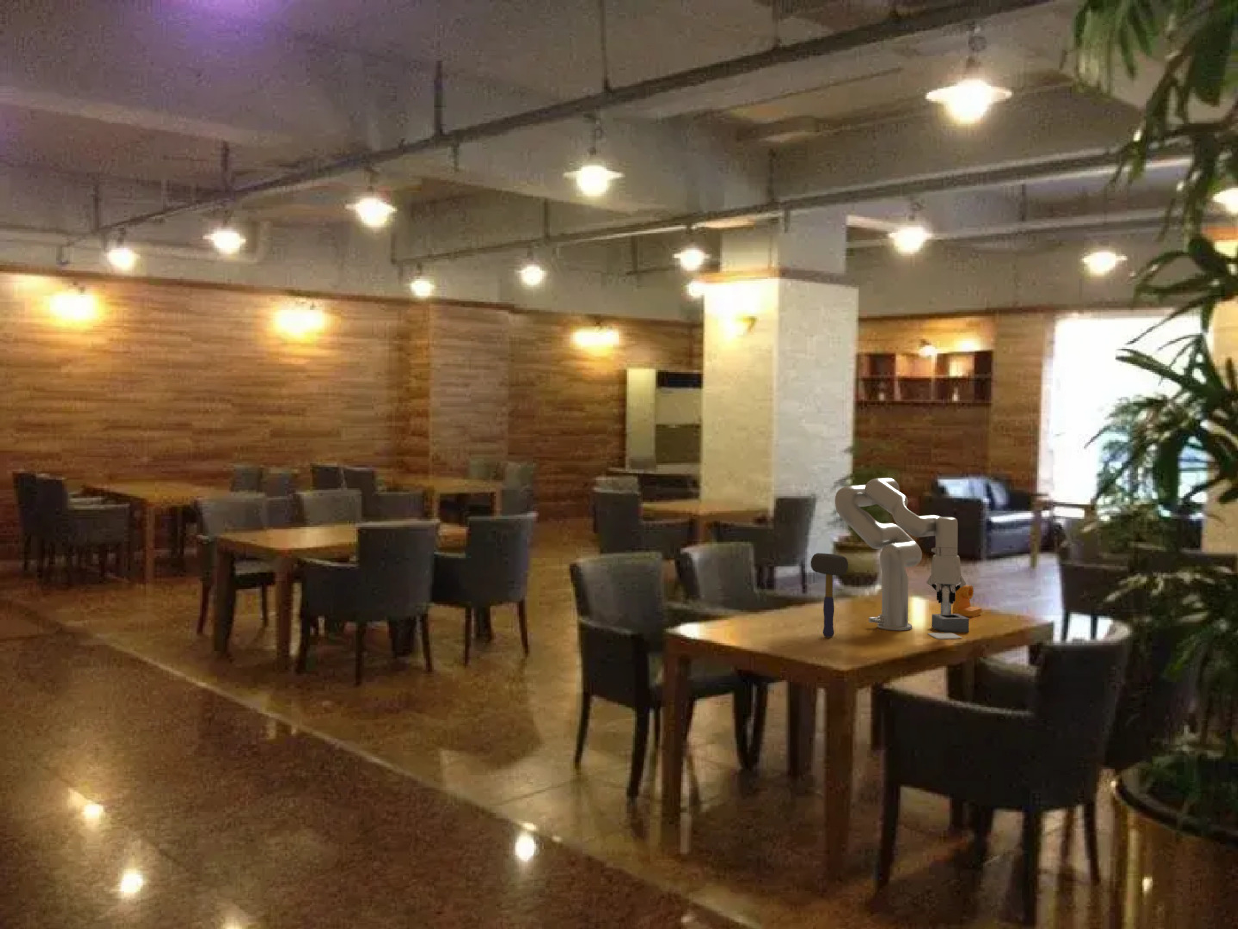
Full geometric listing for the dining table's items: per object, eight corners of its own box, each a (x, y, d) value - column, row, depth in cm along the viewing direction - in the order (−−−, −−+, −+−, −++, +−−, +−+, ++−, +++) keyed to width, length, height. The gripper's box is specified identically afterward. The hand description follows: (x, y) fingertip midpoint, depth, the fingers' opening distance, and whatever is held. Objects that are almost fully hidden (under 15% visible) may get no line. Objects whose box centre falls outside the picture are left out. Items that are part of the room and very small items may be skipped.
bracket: (969, 618, 449) (970, 587, 449) (952, 616, 454) (952, 585, 454) (982, 614, 457) (982, 584, 456) (965, 612, 462) (965, 582, 461)
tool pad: (937, 639, 408) (937, 638, 408) (927, 634, 417) (927, 633, 417) (962, 639, 409) (962, 637, 409) (951, 634, 418) (951, 632, 418)
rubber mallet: (849, 638, 408) (850, 554, 407) (835, 641, 404) (836, 556, 402) (821, 633, 418) (822, 551, 416) (808, 636, 413) (808, 552, 411)
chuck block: (942, 632, 420) (942, 619, 420) (931, 627, 430) (931, 614, 430) (968, 632, 421) (968, 618, 421) (957, 627, 431) (957, 613, 431)
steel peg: (951, 615, 409) (952, 578, 408) (938, 614, 411) (938, 577, 410) (953, 613, 413) (954, 576, 413) (939, 612, 415) (940, 575, 415)
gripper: (921, 552, 411) (920, 603, 412) (969, 554, 404) (968, 606, 405) (924, 549, 418) (923, 600, 419) (971, 551, 411) (971, 602, 412)
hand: (945, 602), depth 412 cm, fingers closed on steel peg, 3 cm apart
